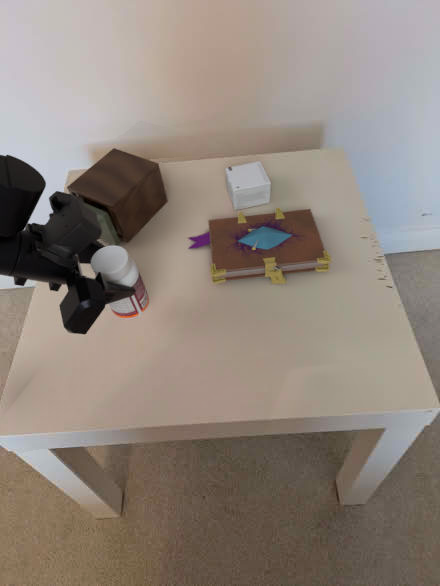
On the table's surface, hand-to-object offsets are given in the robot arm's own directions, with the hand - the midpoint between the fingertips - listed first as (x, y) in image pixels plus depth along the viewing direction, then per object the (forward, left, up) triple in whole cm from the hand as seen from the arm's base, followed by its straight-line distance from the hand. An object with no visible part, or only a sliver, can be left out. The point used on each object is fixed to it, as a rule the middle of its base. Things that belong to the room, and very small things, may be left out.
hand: (128, 276), depth 54 cm
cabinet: (0, +27, -11) cm, 29 cm away
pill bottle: (-1, 0, -7) cm, 7 cm away
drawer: (-4, +24, -10) cm, 26 cm away
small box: (+26, +23, -11) cm, 36 cm away
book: (+22, +7, -11) cm, 26 cm away
